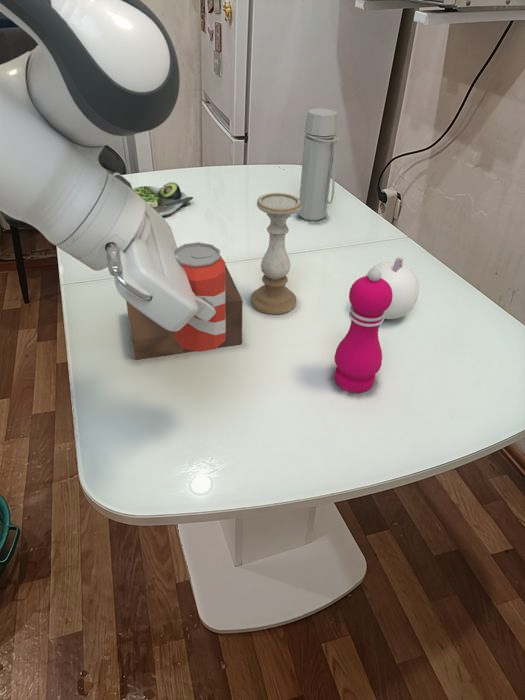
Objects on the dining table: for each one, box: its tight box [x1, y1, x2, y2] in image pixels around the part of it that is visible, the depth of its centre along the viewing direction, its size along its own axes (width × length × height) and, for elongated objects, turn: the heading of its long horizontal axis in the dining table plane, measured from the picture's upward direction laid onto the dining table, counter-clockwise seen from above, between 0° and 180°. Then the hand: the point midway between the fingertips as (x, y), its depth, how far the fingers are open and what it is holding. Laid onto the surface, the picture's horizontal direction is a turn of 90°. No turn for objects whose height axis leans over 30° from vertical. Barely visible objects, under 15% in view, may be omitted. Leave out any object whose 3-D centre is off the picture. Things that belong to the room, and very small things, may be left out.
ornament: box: [365, 257, 420, 320], centre depth 93 cm, size 10×10×12 cm
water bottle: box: [297, 107, 340, 222], centre depth 122 cm, size 9×8×25 cm
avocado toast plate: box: [132, 181, 194, 217], centre depth 129 cm, size 19×18×5 cm
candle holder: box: [250, 192, 302, 315], centre depth 92 cm, size 9×9×20 cm
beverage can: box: [174, 241, 226, 353], centre depth 60 cm, size 6×6×12 cm
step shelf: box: [125, 263, 244, 361], centre depth 87 cm, size 18×13×9 cm
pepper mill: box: [334, 269, 393, 394], centre depth 75 cm, size 7×7×20 cm
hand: (204, 295), depth 60 cm, fingers closed on beverage can, 6 cm apart
